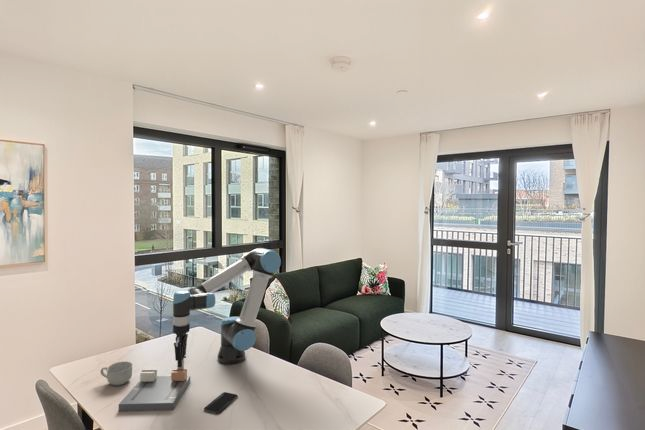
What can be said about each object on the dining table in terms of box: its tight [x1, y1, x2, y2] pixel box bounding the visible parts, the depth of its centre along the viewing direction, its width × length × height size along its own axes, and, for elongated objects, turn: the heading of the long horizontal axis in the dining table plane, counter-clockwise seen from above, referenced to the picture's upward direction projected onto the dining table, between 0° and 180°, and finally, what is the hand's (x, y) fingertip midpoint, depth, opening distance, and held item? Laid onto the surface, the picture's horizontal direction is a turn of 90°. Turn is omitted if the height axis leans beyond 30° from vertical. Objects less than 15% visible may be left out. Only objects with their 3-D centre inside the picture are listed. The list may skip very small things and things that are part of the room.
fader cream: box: [139, 368, 158, 382], centre depth 167 cm, size 6×4×4 cm, turn 94°
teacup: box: [100, 360, 133, 387], centre depth 171 cm, size 14×11×8 cm
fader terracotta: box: [170, 367, 188, 381], centre depth 168 cm, size 6×4×4 cm, turn 94°
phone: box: [203, 391, 238, 415], centre depth 154 cm, size 8×1×15 cm
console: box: [118, 375, 191, 412], centre depth 160 cm, size 22×24×3 cm
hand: (180, 372), depth 171 cm, fingers closed
